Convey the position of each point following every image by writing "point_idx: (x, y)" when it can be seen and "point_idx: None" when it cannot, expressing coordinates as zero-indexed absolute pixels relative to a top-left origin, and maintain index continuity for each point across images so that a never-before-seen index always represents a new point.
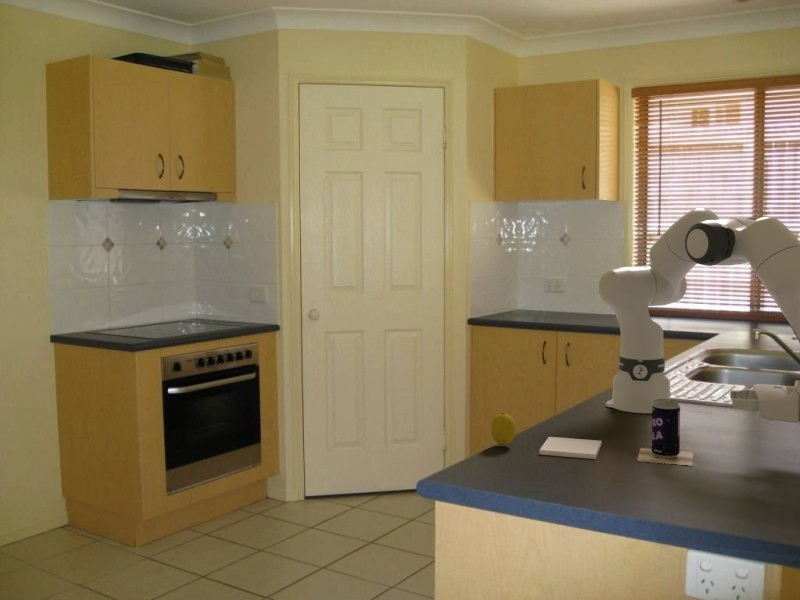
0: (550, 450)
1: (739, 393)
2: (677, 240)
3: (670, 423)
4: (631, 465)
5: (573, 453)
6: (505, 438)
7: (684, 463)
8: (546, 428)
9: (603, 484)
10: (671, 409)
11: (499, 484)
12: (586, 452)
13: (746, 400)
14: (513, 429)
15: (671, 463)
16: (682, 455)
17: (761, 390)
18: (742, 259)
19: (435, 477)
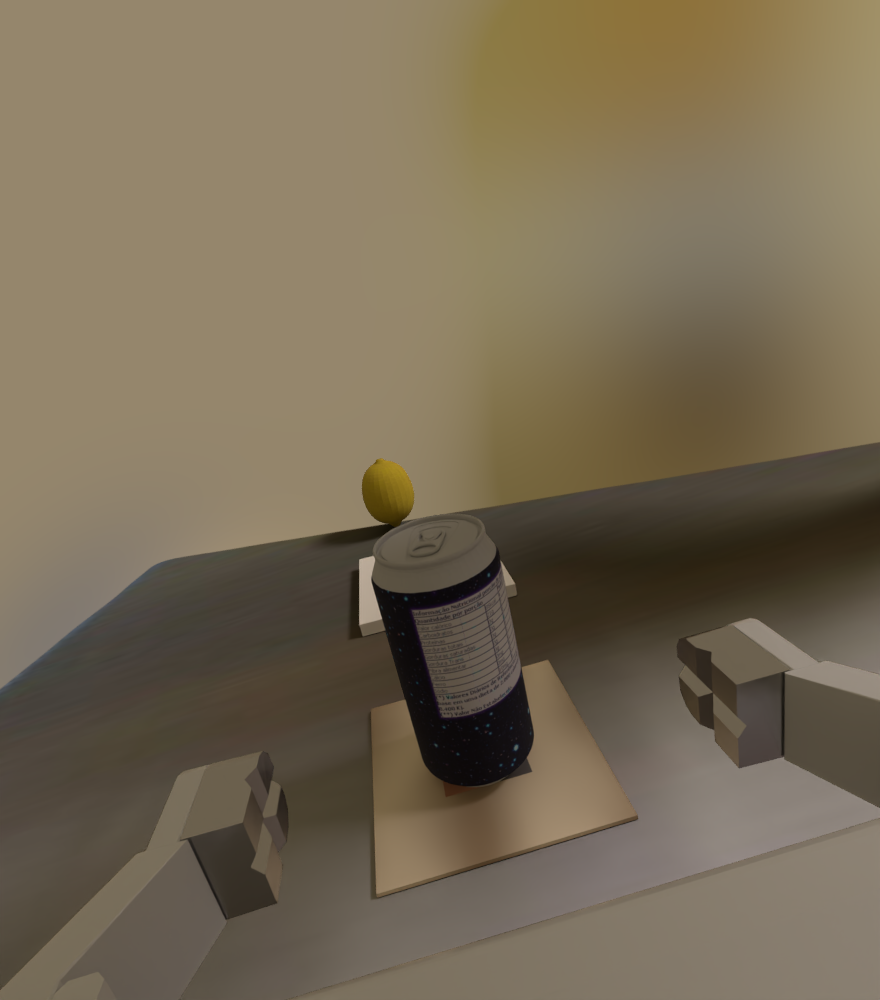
0: (362, 569)
1: (735, 703)
2: None
3: (391, 647)
4: (324, 715)
5: (359, 597)
6: (370, 513)
7: (399, 850)
8: (589, 499)
9: (108, 733)
10: (377, 588)
11: (131, 614)
12: (371, 608)
13: (75, 915)
14: (380, 499)
15: (378, 805)
16: (535, 799)
17: (744, 990)
18: None
19: (178, 559)
